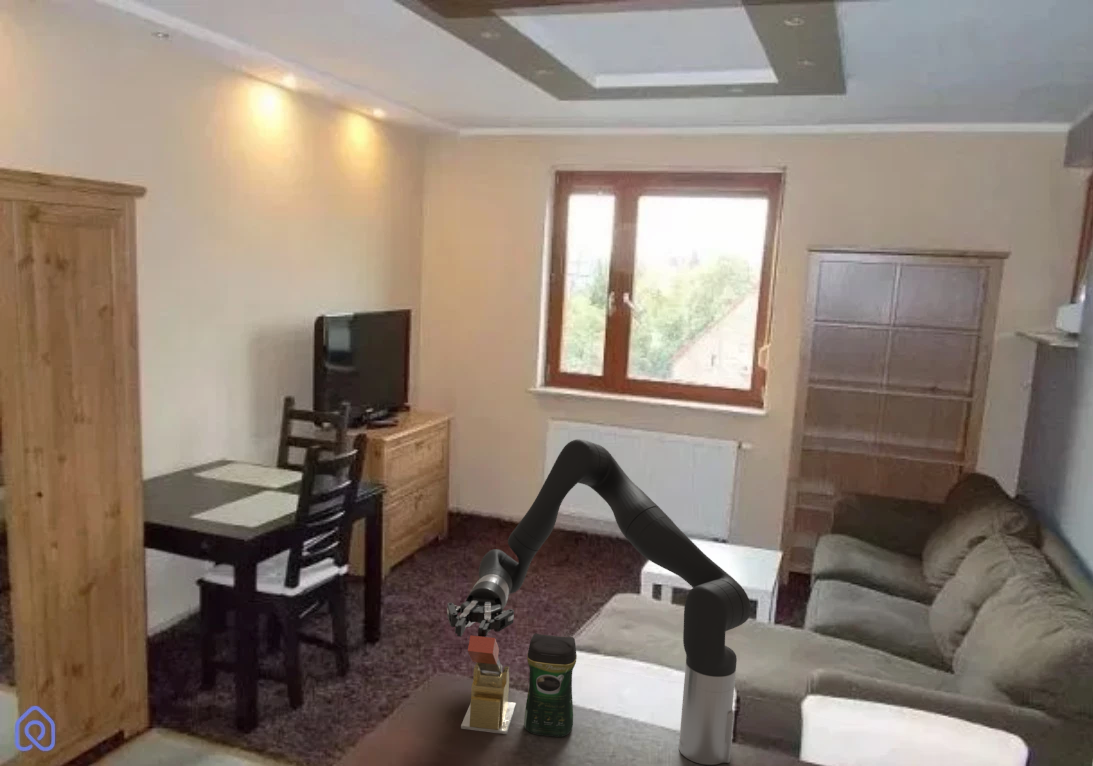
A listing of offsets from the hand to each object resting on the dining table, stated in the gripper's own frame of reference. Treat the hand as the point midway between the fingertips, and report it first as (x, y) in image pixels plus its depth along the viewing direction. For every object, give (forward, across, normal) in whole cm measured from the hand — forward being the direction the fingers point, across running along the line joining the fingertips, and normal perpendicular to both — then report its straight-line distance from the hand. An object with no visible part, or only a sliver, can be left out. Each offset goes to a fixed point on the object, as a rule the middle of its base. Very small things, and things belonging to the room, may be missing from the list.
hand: (469, 632), depth 150 cm
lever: (-11, +3, +13) cm, 17 cm away
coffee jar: (-10, +15, +22) cm, 28 cm away
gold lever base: (-11, +2, +22) cm, 24 cm away
